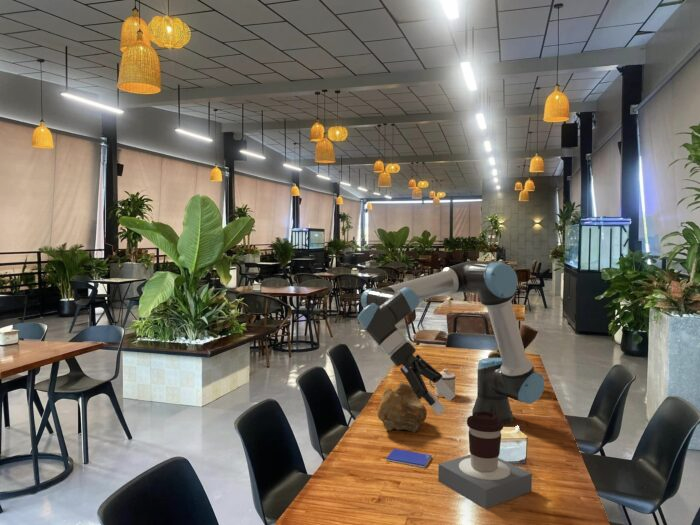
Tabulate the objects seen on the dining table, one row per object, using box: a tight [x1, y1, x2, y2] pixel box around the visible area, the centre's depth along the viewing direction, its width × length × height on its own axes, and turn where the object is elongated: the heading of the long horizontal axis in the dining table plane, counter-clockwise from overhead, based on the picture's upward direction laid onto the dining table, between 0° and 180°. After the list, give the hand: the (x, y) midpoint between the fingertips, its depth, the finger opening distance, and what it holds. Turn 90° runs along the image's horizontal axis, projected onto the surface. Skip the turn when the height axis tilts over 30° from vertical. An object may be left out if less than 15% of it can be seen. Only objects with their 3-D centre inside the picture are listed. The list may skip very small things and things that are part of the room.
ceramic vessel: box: [487, 324, 539, 358], centre depth 242 cm, size 16×22×30 cm
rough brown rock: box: [377, 381, 428, 433], centre depth 193 cm, size 23×17×15 cm
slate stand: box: [437, 454, 533, 509], centre depth 148 cm, size 18×18×5 cm
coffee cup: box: [466, 411, 504, 472], centre depth 148 cm, size 10×10×15 cm
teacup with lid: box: [428, 368, 457, 398], centre depth 232 cm, size 12×9×12 cm
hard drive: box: [385, 448, 433, 469], centre depth 165 cm, size 2×8×12 cm
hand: (447, 405), depth 151 cm, fingers open, 13 cm apart
